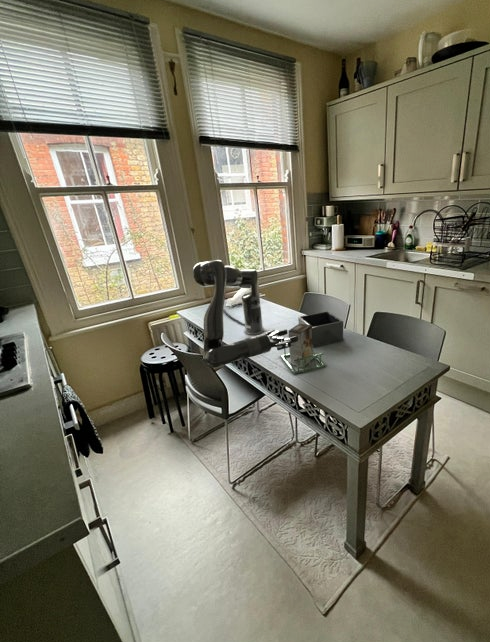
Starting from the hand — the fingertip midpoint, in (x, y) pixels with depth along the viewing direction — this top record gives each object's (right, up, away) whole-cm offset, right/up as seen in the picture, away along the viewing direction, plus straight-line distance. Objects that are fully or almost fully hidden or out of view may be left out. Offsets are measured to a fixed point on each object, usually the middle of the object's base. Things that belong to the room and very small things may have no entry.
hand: (292, 334), depth 129 cm
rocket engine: (-39, +22, +87) cm, 98 cm away
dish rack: (+4, -12, +8) cm, 15 cm away
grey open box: (+14, -1, +30) cm, 33 cm away
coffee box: (+4, -12, +8) cm, 15 cm away
